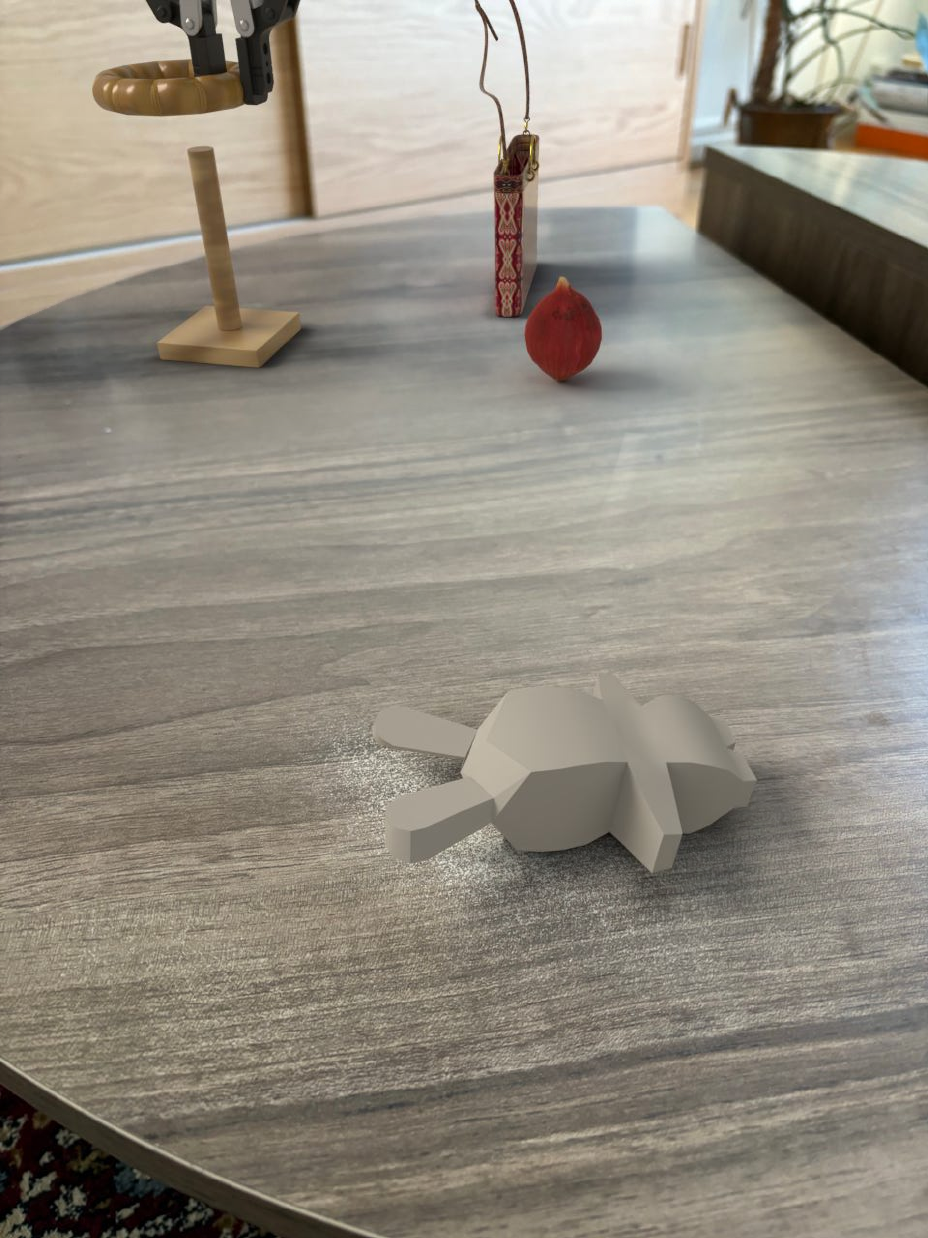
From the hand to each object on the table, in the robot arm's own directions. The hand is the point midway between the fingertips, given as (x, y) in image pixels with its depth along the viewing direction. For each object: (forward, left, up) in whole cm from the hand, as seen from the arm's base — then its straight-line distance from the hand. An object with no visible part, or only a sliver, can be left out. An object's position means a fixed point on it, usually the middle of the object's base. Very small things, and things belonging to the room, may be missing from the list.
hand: (236, 100), depth 63 cm
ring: (-4, 0, +1) cm, 4 cm away
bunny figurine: (+28, -36, -21) cm, 50 cm away
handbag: (+10, +30, -21) cm, 38 cm away
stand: (-9, +10, -21) cm, 25 cm away
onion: (+20, +8, -21) cm, 30 cm away
